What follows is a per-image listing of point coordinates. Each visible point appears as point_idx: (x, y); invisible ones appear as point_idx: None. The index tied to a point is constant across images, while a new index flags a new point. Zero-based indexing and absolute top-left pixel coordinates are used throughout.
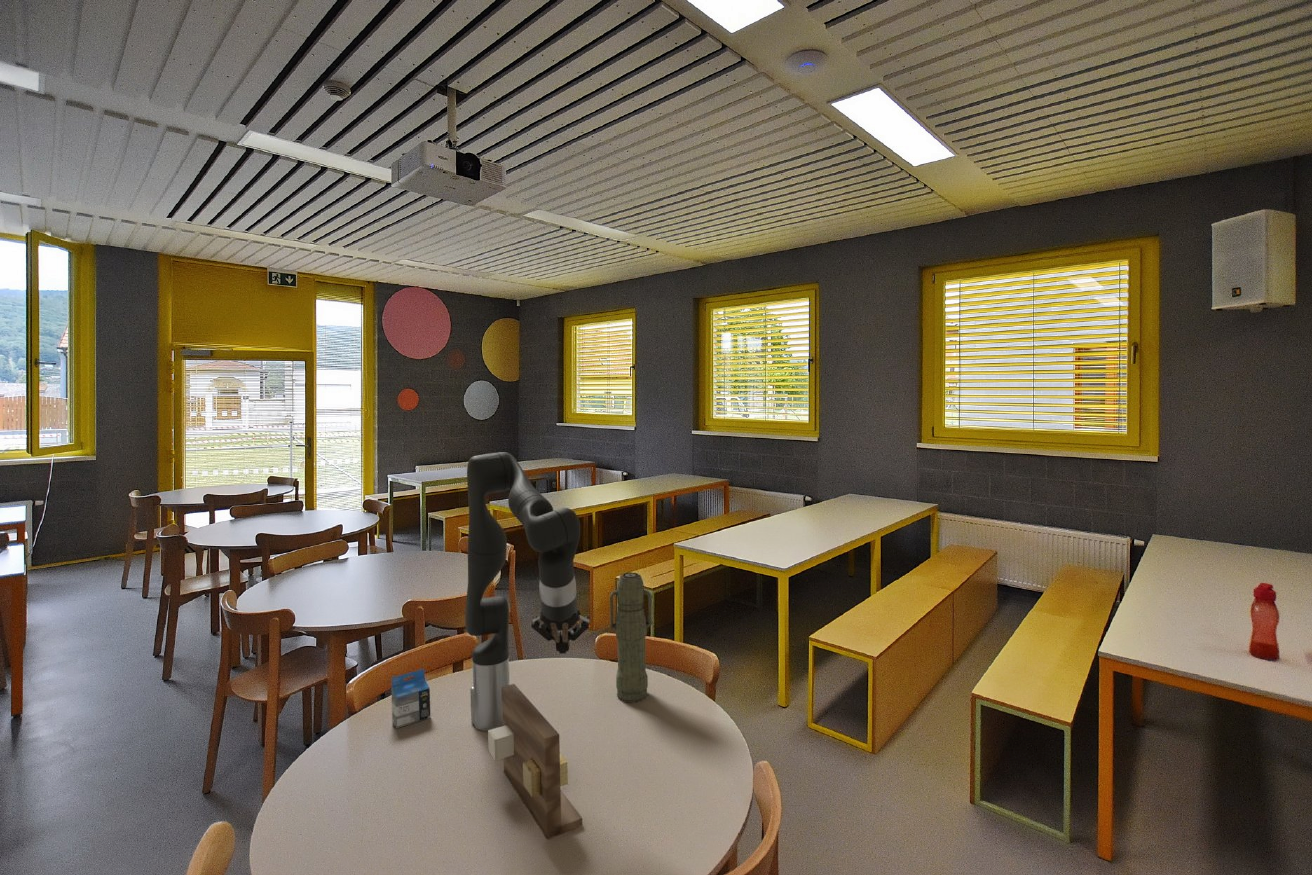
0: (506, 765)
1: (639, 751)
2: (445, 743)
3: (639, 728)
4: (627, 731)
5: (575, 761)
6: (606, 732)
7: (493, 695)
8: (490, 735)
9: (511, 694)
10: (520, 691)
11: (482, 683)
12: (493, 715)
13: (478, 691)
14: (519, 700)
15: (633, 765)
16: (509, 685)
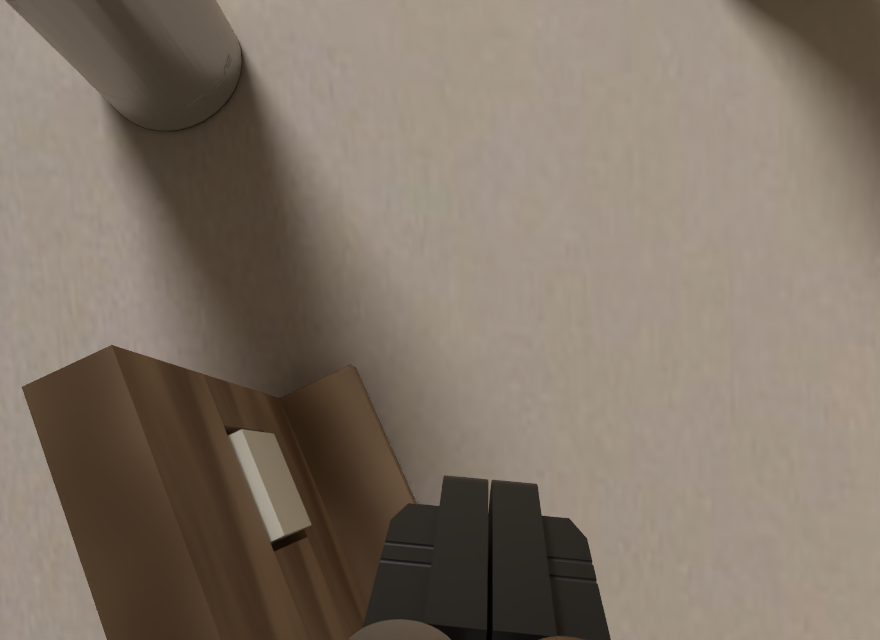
0: None
1: (778, 341)
2: (9, 197)
3: (776, 169)
4: (725, 187)
5: (514, 381)
6: (635, 185)
7: (111, 44)
8: None
9: (94, 523)
10: (158, 481)
11: (20, 4)
12: (154, 97)
13: (29, 22)
14: (153, 635)
15: (754, 440)
16: (78, 370)
